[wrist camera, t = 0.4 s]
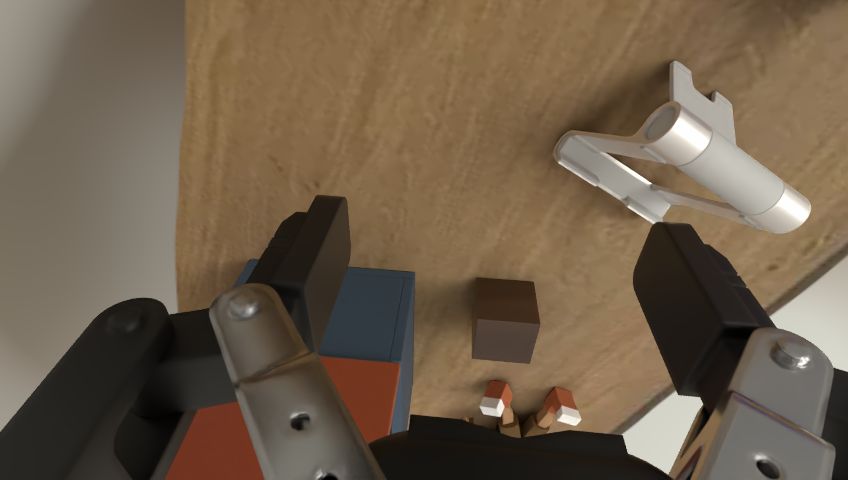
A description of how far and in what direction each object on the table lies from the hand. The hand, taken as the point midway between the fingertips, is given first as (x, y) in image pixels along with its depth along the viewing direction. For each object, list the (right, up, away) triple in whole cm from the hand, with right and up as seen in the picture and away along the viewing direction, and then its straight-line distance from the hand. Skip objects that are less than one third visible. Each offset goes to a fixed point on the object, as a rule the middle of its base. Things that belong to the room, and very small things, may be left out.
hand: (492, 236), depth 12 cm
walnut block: (+5, -5, +25) cm, 26 cm away
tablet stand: (+12, +6, +16) cm, 21 cm away
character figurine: (+7, -20, +37) cm, 43 cm away
